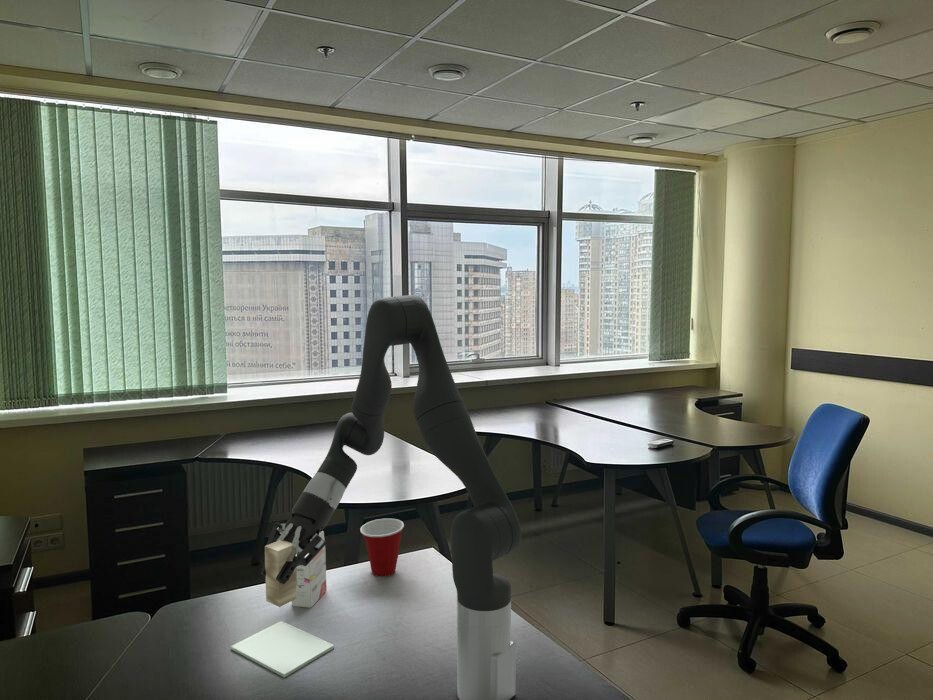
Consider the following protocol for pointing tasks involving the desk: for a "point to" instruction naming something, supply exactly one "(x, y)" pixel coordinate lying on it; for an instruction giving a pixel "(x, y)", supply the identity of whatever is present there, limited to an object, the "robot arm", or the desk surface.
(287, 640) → the sage mat
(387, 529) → the plastic cup
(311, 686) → the desk surface
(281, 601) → the birch block
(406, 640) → the desk surface
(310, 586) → the ink cartridge box
